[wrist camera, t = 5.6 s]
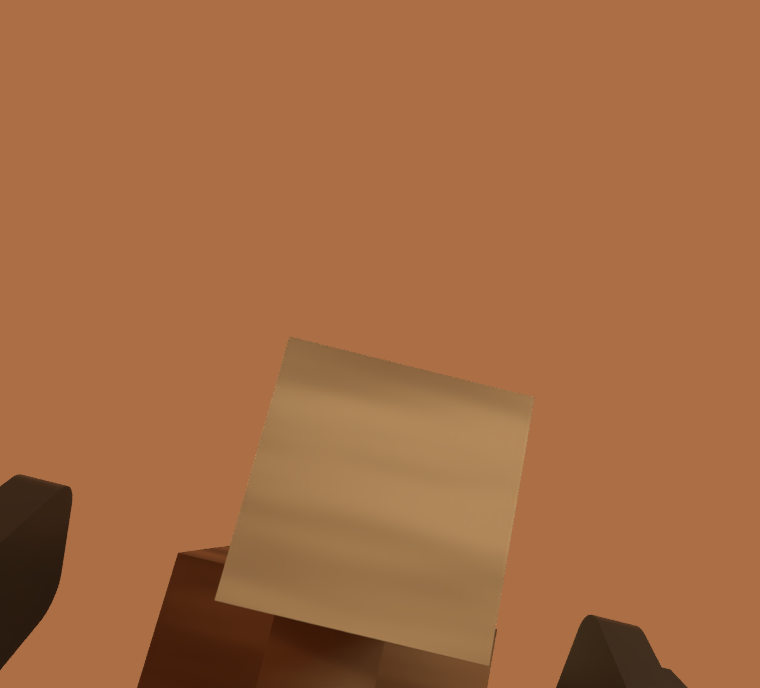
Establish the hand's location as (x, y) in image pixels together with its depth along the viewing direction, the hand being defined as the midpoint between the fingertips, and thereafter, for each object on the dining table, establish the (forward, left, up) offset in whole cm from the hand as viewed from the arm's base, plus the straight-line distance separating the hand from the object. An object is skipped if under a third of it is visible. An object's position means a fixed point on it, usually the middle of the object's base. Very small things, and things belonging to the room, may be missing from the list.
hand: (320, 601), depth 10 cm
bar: (-5, -13, -1) cm, 14 cm away
